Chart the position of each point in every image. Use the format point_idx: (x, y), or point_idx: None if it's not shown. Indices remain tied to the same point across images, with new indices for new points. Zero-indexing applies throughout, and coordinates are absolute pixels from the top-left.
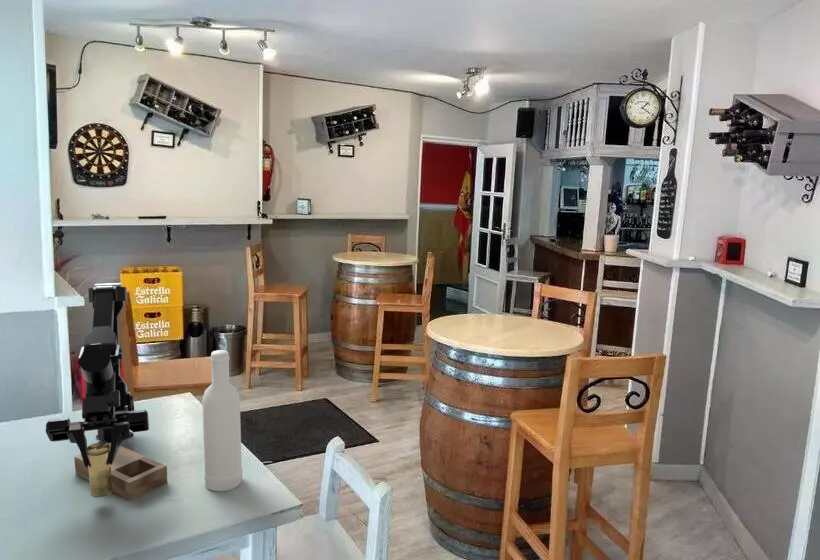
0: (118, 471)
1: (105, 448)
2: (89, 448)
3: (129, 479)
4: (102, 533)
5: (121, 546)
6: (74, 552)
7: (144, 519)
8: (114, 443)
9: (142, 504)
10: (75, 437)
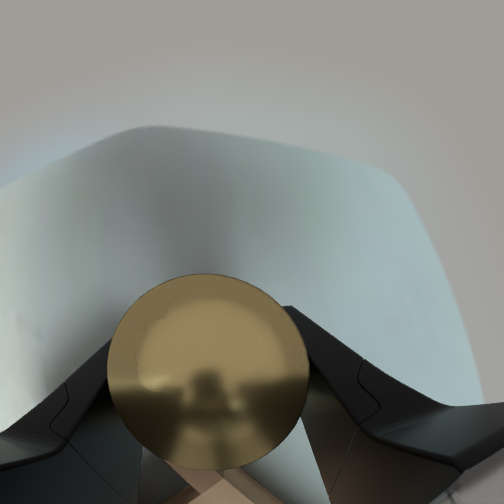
0: (190, 498)
1: (128, 320)
2: (281, 353)
3: None
4: (198, 198)
5: (151, 144)
6: (251, 140)
7: (98, 244)
8: (68, 396)
9: (105, 330)
10: (464, 411)
